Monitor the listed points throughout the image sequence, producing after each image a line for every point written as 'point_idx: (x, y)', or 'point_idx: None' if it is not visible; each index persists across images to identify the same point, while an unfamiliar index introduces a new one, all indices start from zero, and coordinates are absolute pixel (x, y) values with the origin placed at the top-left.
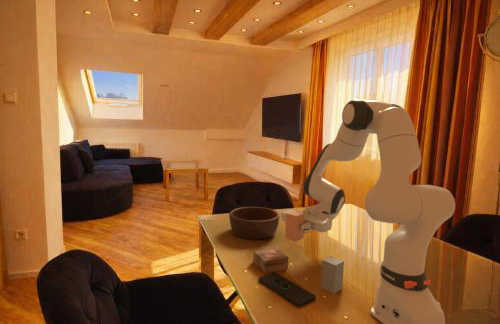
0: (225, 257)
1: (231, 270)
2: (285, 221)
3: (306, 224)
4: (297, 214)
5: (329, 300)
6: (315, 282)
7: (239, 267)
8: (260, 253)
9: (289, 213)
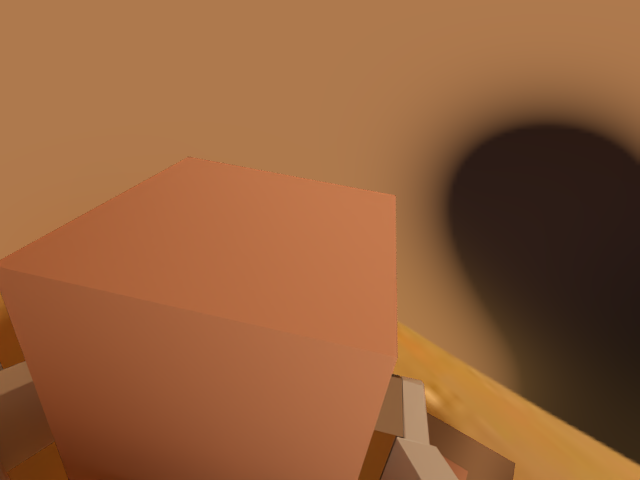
0: (621, 466)
1: (468, 370)
2: (411, 383)
3: (17, 370)
4: (192, 190)
5: (13, 350)
6: (54, 468)
7: (473, 407)
8: (453, 451)
9: (343, 197)
